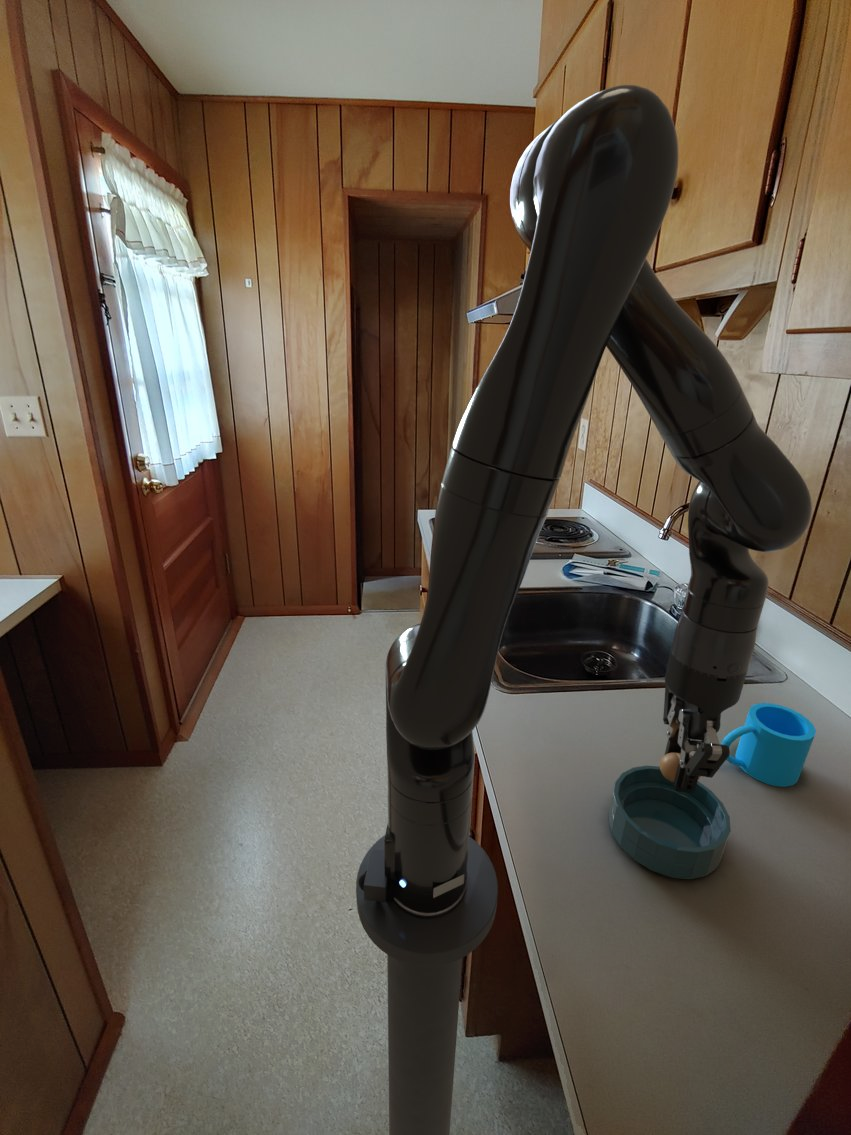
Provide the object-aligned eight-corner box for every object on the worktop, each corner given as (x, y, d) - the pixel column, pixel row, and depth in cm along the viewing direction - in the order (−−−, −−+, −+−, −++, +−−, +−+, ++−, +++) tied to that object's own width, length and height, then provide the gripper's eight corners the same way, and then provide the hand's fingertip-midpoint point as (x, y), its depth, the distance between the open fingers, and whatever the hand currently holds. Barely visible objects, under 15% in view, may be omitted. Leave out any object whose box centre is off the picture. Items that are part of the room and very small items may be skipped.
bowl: (620, 876, 64) (627, 845, 62) (599, 789, 76) (604, 761, 74) (739, 888, 63) (750, 857, 61) (698, 798, 75) (706, 770, 73)
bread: (662, 788, 64) (667, 765, 63) (653, 767, 67) (659, 745, 66) (702, 791, 64) (709, 769, 63) (692, 770, 67) (698, 748, 66)
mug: (773, 745, 85) (788, 701, 82) (812, 785, 77) (830, 739, 74) (699, 748, 84) (711, 704, 81) (731, 789, 76) (746, 743, 73)
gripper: (655, 619, 66) (631, 735, 72) (696, 690, 53) (662, 822, 59) (720, 623, 65) (690, 739, 72) (778, 696, 52) (735, 829, 59)
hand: (678, 776), depth 66 cm, fingers closed on bread, 3 cm apart
